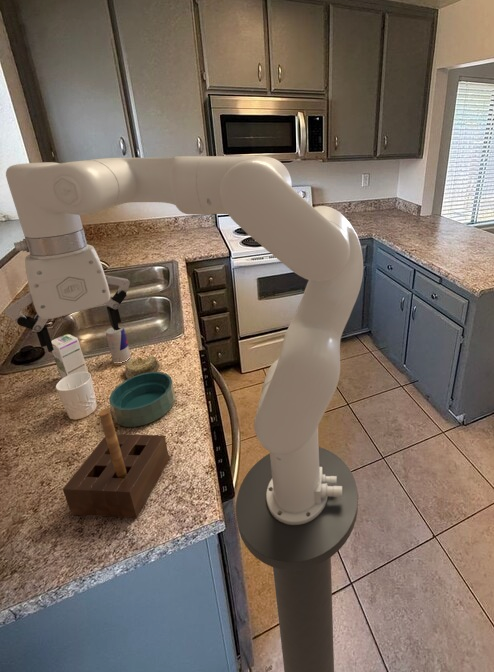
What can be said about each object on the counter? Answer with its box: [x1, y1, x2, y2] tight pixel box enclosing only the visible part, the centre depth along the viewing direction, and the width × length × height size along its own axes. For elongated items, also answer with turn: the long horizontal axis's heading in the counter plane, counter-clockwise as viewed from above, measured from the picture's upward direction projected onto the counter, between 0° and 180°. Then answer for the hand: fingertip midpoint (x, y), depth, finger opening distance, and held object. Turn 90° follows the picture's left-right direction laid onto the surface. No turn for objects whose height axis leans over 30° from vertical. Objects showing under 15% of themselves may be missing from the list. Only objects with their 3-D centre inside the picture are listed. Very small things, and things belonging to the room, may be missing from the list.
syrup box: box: [51, 333, 89, 380], centre depth 109 cm, size 6×6×14 cm
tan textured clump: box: [124, 354, 160, 380], centre depth 114 cm, size 10×10×5 cm
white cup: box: [55, 371, 98, 421], centre depth 97 cm, size 8×8×10 cm
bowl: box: [109, 371, 176, 428], centre depth 98 cm, size 15×15×6 cm
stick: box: [98, 408, 127, 478], centre depth 71 cm, size 2×2×22 cm
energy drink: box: [105, 325, 132, 366], centre depth 119 cm, size 5×5×12 cm
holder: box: [62, 433, 170, 519], centre depth 76 cm, size 14×14×7 cm
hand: (84, 337), depth 62 cm, fingers open, 9 cm apart
